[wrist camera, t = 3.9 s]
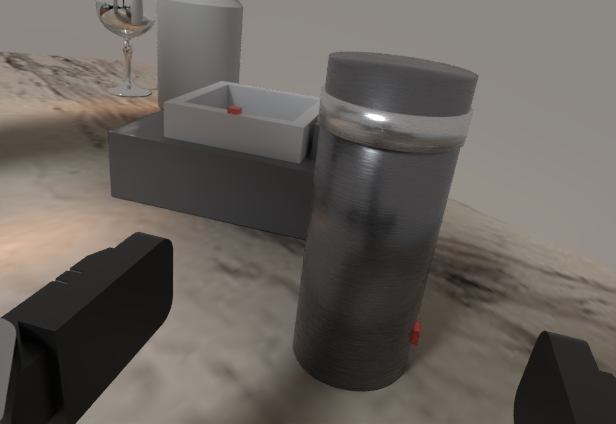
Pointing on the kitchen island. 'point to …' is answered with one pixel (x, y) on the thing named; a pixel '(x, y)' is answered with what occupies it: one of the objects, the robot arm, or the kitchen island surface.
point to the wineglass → (127, 32)
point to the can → (197, 45)
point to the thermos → (376, 211)
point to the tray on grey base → (223, 157)
